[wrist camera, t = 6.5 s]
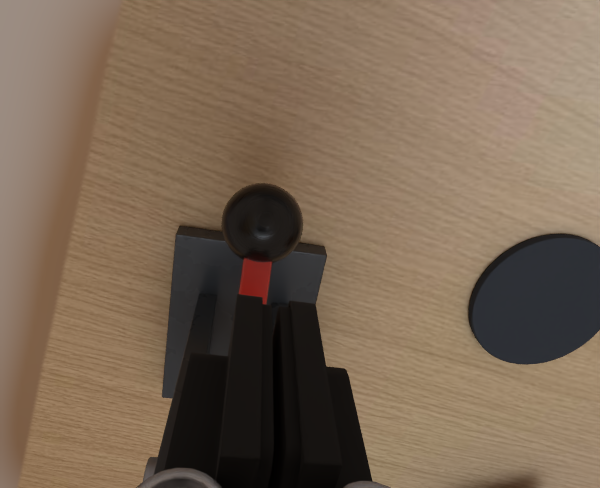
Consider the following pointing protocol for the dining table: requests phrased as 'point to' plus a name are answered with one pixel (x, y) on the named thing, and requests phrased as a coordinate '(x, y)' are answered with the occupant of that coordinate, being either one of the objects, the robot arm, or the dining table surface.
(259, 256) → the lever
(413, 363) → the dining table surface
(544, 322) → the coaster
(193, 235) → the bracket
